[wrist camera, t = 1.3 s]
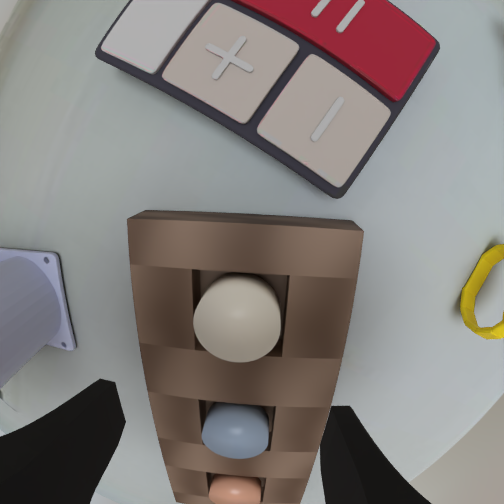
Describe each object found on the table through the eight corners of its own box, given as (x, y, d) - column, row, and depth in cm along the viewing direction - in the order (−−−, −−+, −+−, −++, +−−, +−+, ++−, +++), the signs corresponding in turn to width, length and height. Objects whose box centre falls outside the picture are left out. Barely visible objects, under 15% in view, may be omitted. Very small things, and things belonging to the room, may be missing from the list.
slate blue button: (208, 435, 21) (203, 455, 19) (205, 395, 20) (199, 415, 18) (266, 441, 21) (265, 460, 19) (271, 401, 20) (270, 422, 18)
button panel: (181, 483, 26) (176, 501, 24) (145, 210, 18) (127, 218, 16) (296, 493, 26) (296, 513, 23) (352, 220, 18) (363, 231, 15)
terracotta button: (213, 490, 24) (210, 506, 22) (210, 467, 22) (207, 484, 21) (260, 494, 23) (258, 510, 22) (263, 472, 22) (261, 490, 20)
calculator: (343, 206, 14) (83, 52, 12) (325, 192, 18) (117, 67, 16) (450, 41, 11) (207, -93, 9) (416, 57, 15) (216, -57, 13)
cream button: (202, 339, 18) (195, 358, 17) (200, 269, 17) (191, 283, 15) (277, 345, 18) (276, 365, 16) (283, 275, 17) (284, 290, 15)
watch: (465, 314, 19) (503, 363, 14) (442, 301, 19) (480, 352, 13) (509, 246, 17) (559, 281, 12) (488, 227, 17) (541, 261, 11)
